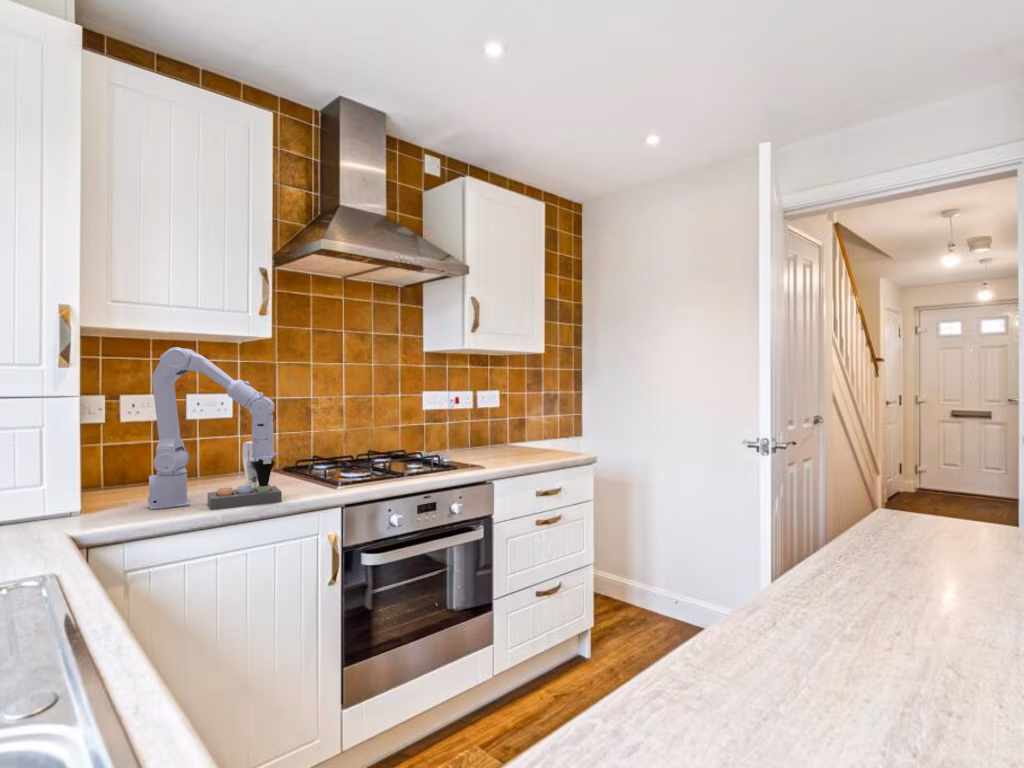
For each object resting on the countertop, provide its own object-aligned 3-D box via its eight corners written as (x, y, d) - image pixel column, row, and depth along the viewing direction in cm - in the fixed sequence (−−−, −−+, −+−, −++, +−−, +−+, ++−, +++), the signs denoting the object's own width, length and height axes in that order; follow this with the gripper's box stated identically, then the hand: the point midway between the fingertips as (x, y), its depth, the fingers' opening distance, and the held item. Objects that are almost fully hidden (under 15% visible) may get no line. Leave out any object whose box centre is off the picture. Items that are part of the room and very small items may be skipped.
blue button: (238, 499, 163) (238, 488, 163) (237, 496, 166) (236, 486, 166) (252, 497, 165) (252, 487, 165) (250, 495, 168) (250, 485, 168)
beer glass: (238, 489, 184) (237, 442, 184) (256, 486, 190) (256, 440, 190) (252, 491, 181) (252, 443, 181) (271, 487, 187) (270, 441, 187)
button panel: (210, 510, 157) (210, 499, 157) (207, 503, 165) (207, 492, 165) (281, 501, 166) (281, 491, 166) (275, 495, 175) (275, 485, 175)
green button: (257, 497, 166) (257, 487, 166) (255, 495, 169) (255, 485, 169) (271, 496, 168) (271, 486, 168) (269, 494, 171) (269, 484, 171)
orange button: (218, 501, 161) (218, 490, 161) (217, 499, 164) (217, 488, 164) (233, 499, 163) (232, 489, 163) (231, 497, 166) (231, 487, 166)
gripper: (282, 440, 164) (283, 488, 164) (273, 435, 176) (273, 480, 177) (255, 442, 160) (256, 491, 161) (247, 437, 173) (248, 483, 173)
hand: (263, 485), depth 168 cm, fingers closed, pressing on green button
